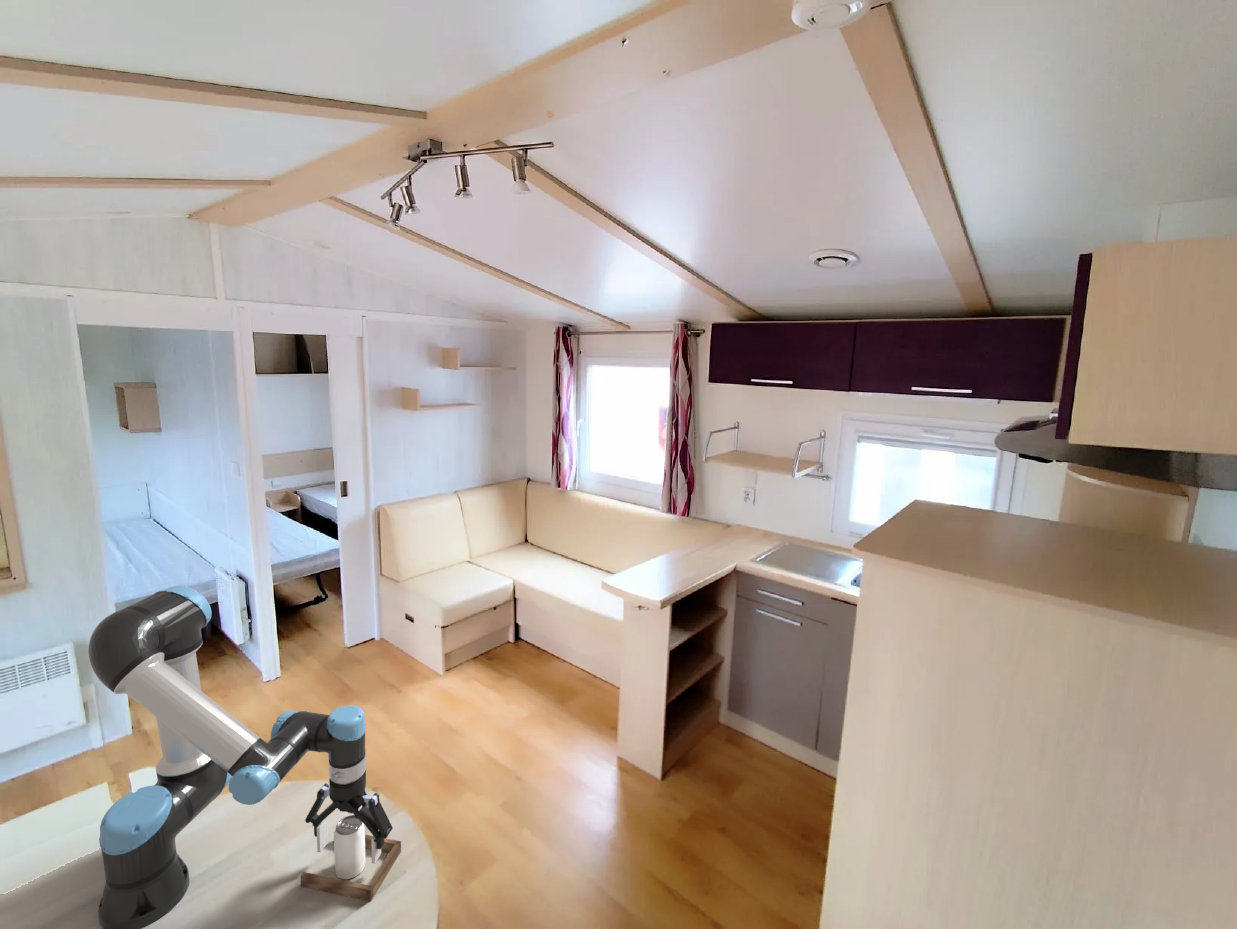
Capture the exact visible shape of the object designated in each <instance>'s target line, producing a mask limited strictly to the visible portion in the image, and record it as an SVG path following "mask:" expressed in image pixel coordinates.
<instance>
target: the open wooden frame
mask: <svg viewBox="0 0 1237 929" xmlns="http://www.w3.org/2000/svg"><path fill="white" fill-rule="evenodd" d="M372 838H373V835H370V834H365V850H370V851H372V841H371V839H372ZM381 853H386V854H387V856H386V858H385V859H384V860H383V862H382V863H381V866H380V867H379V869H378V870H377V872H376V874H375V875H374V877H373V878H372V880H371V881H370V883H369V884H364V883H359V882H354V881H350V880H346V879H341V878H336V877H335V878H334V877H330V876H326V875H325V876H324V875H320V874H315V873H310V872H307V871H303V872H302V873H301V874H300V876H299V880H300V887H301V888H305V889H309V890H315V891H319V892H323V893H329V894H333V895H336V896H342V897H346V898H353V899H358V900H362V901H367V902H372V900H373V898H374V897H375V895H376V894H377V892H378V890H379V889H380V888H381V885H382V884H383V882H384V881H385V879H386V877H387V875H389V872H390V871H391V869H392V868H393V866H394V864H395V863H396V861H397V860H398V858H399V856H400V855H401V853H402V841H401V840H395V839H390V838H384V845H383V846H382V848H381Z"/></svg>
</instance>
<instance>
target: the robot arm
mask: <svg viewBox="0 0 1237 929" xmlns="http://www.w3.org/2000/svg"><path fill="white" fill-rule="evenodd" d="M212 612H213V611H212V608H211V605H210V603H209V600H207V599H206V597H205V596H204V595H203V594H201V593H200V592H198V591H197V590H196V589H194V588H192V587H189V586H185V585H184V586H183V585H174V586H171V587H168V588H166V589H163V590H159V591H156V592H155V593H153V594H151V595H149V596H148V597H145V598H143V599H140V600H139V601H137V602H135V603H133V604H130V605H128V606H125V607H124V608H122V609H119V610H117V611H115V612H112V613H111V614H109V615H108V616H106V617H105V618H103V619H102V620H101V621H100V622H99V624H97V626H96V627H95V629H94V630H93V631H92V634H91V636H90V639H89V642H88V652H87V653H88V659H89V663H90V666H91V669H92V671H93V673H94V674H95V676H96V677H97V679H98V680H99V681H100V682H101V683H102V684H103V686H105V687H106V688H108V690H110V691H111V692H112V693H114V694H115V695H124V694H125V695H127V696H128V697H130V698H131V699H133V700H134V701H135V702H136V703H138V704H139V705H140V706H141V707H143V708H145V709H146V710H147V711H148V712H149V713H151V715H153V716H154V717H156V725H157V730H158V737H159V743H160V747H161V748H160V749H161V755H162V756H161V758H160V759H159V760H158V762H156V765H155V771H156V772H155V773H156V777H157V779H156V780H157V782H156V783H155V784H154V785H153V784H152V785H148V786H147V785H146V786H142V787H140V788H138V789H137V790H136V791H134V792H132V791H131V792H129V793H127V794H125V795H124V796H122V797H121V798H119V799H118V800H116V801H115V802H114V803H113V804H112V805H111V806H110V807H109V809H108V810H107V811H106V812H105V814H104V815H103V818H102V820H101V822H100V826H99V840H98V841H99V842H98V843H99V847H100V849H101V855H102V862H103V870H104V876H105V877H104V878H105V885H104V888H103V893H102V897H101V899H100V901H99V904H98V908H97V909H98V910H97V912H98V914H97V915H98V921H99V925H100V926H101V928H103V929H138V928H139V929H141V928H144V927H146V926H148V925H150V924H152V923H154V922H156V921H158V919H161V918H163V917H164V916H165V915H167V914H168V913H169V912H170V911H171V910H172V909H174V908H175V907H176V906H177V905H178V904H179V903H180V902H181V900H182V899H183V898H184V896H185V894H186V893H187V891H188V889H189V885H190V873H189V872H190V871H189V868H188V865H186V863H185V862H184V860H183V859H182V857H181V856H180V855H179V854H178V852H177V846H176V845H177V844H176V838H177V836H178V835H179V834H180V833H181V832H182V831H183V830H184V829H185V828H186V827H187V826H188V825H189V824H190V823H191V822H192V821H193V820H194V819H195V818H196V817H197V816H198V815H199V814H200V813H201V812H202V811H203V810H205V809H206V808H207V807H208V806H209V805H210V804H211V803H212V802H213V801H214V800H216V799H217V798H218V797H219V796H220V794H221V793H222V792H223V791H224V789H226V787H227V786H228V791H229V793H230V794H232V798H233V800H235V801H236V802H237V803H240V804H242V805H247V806H252V805H255V804H256V805H257V804H259V803H260V802H262V801H263V800H264V799H265V798H266V797H268V795H269V794H270V793H271V792H272V791H273V790H274V789H276V788H277V787H278V786H279V784H280V783H281V781H282V780H283V779H284V778H285V777H286V776H287V774H289V772H290V771H291V770H292V769H293V768H294V767H295V766H296V765H297V764H298V763H299V762H300V761H301V760H302V759H303V757H304V756H306V754H307V753H308V752H310V751H311V752H314V753H315V752H317V753H326V754H327V755H328V776H329V779H328V781H329V783H324V784H323V785H322V786H321V787H320V789H319V790H317V793H316V799H315V801H314V803H313V805H312V806H311V809H310V810H309V812H308V813H307V816H306V817H305V820H304V821H305V823H307V824H310V823H311V824H312V826H313V835H314V837H316V846H317V847H316V848H317V849H316V851H317V853H321V852H322V851H323V850H324V848H325V847H326V846H327V844H328V843H329V840H328V835H329V834H328V819H327V817H328V816H330V815H331V813H334V811H335V810H336V809H338V810H339V812H342V813H345V812H346V813H349V814H352V815H355V817H356V818H360V820H361V821H362V822H363V823H364V827H366V829H368V830H369V831H368V832H370V833H371V836H373V838H372V839H371V841H372V850H371V864H376V862H377V861H378V859H379V857H380V856H381V855H382V852H381V848H382V846H383V845H384V838H386V839H388V836H389V835H390V833H391V832H392V830H393V829H394V828H393V825H392V824H391V822H390V820H389V818H388V815H387V813H386V811H385V809H384V807H383V805H382V803H381V801H380V794H379V793H377V792H375V793H374V794H373V795H368V793H367V792H366V787H367V759H366V757H367V756H366V755H367V754H366V732H367V731H366V730H367V727H366V726H367V725H366V718H365V717H366V716H365V713H364V711H363V709H362V708H361V707H360V706H358V705H355V704H354V705H352V704H349V705H347V706H345V705H342V706H339V707H337V708H335V709H334V710H332V711H331V712H330V713H329V714H325V713H317V712H311V711H307V710H286V711H284V712H282V713H281V714H280V715H279V716H278V717H277V719H276V721H275V722H274V723H273V725H272V726H271V730H270V739H269V740H268V742H267V741H265V740H264V739H263V738H261V737H259V735H257V734H256V733H255V732H254V731H252V730H251V729H250V728H249V727H247V726H246V725H245V724H244V723H242V722H241V721H240V720H238V719H237V718H236V717H235V716H234V715H233V714H231V713H229V712H228V711H227V710H226V709H225V708H223V707H222V706H221V705H219V703H217V702H215V701H214V700H213V699H212V698H210V696H208V695H207V694H205V693H204V692H203V691H202V686H201V681H200V680H201V679H200V672H199V666H198V659H197V653H196V652H198V650H200V648H201V647H202V645H203V642H204V641H203V635H202V629H204V628H205V627H207V625H208V623H209V622H210V621H211V619H212ZM327 797H329V799H330V801H332V802H331V804H329V805H328V806H327V807H326V808H325V809H324V810H323V811H321V813H319V814H318V812H319V811H320V808H321V807H322V806H323V803H324V801H325V800H326V799H327Z"/></svg>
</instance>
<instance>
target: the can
mask: <svg viewBox="0 0 1237 929" xmlns="http://www.w3.org/2000/svg"><path fill="white" fill-rule="evenodd" d="M365 827H366V826H365V825H364V823H363V822H362V821H361V820H360V818H356V817H355V815H354V814H352V815H347V816H345V817H342V818H341V819H340V820H339V821H338V822H337V824H336V826H335V829H334V832H333V845H334V846H333V849H334V850H333V851H334V852H333V854H334V870H335V875H336V876H337V878H338V879H341V880H350V879H354V878H355V877H357V876H358V875H359V874H361V873H362V872H363V871H364V868H365V866H366V849H365V835H366V832H365V831H366V829H365Z"/></svg>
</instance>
